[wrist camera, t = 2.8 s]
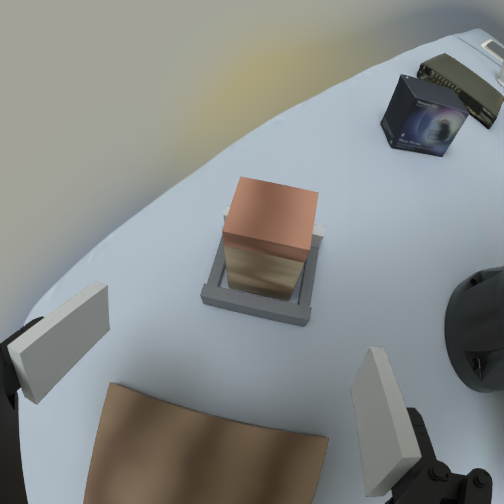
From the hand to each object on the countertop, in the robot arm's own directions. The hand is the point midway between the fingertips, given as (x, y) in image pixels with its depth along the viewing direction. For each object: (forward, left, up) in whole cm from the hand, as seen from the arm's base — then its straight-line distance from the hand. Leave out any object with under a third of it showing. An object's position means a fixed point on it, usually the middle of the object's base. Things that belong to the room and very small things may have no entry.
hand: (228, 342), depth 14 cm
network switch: (-39, -68, -15) cm, 80 cm away
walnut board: (+1, +12, -15) cm, 19 cm away
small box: (-19, -38, -15) cm, 45 cm away
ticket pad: (0, -10, -15) cm, 18 cm away
